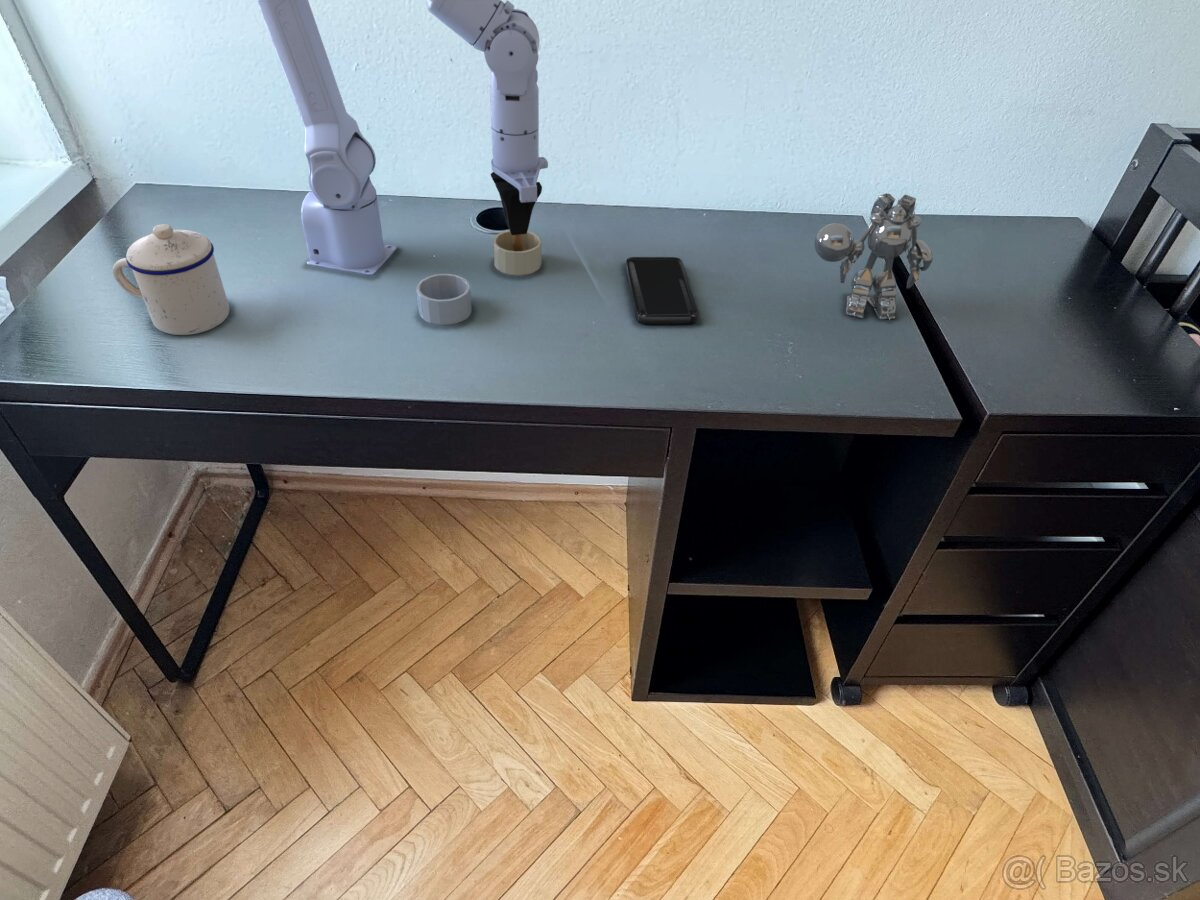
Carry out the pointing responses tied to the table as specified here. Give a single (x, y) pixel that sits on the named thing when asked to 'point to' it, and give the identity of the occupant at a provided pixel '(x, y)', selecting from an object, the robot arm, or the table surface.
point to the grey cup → (444, 299)
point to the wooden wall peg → (518, 243)
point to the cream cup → (517, 254)
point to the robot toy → (877, 253)
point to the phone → (660, 291)
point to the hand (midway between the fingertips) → (517, 230)
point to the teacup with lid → (176, 280)
